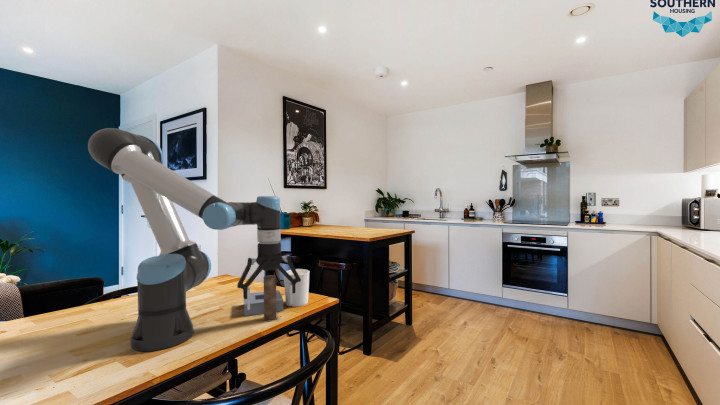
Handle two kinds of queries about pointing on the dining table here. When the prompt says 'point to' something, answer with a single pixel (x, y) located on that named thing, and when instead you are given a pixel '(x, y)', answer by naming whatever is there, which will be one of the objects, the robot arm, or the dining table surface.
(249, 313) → the socket block
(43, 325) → the dining table surface
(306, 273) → the candle holder
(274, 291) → the peg
